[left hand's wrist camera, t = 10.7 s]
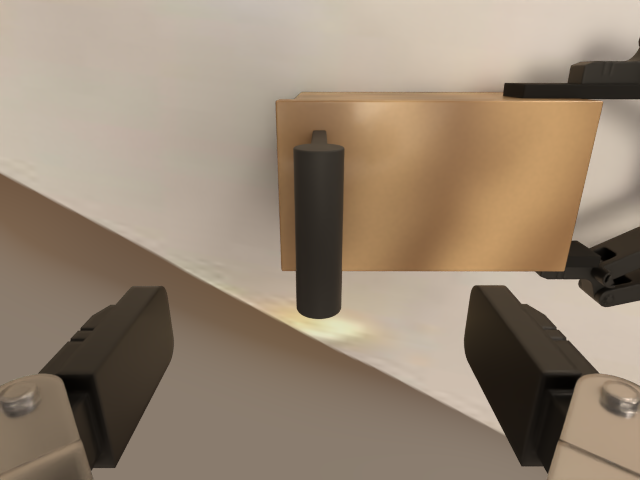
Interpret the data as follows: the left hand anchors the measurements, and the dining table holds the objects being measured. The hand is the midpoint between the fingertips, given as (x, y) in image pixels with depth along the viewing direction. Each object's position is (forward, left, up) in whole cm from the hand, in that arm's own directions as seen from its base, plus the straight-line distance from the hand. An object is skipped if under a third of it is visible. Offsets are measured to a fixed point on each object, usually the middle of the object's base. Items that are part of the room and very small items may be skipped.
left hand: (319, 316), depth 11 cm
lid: (+6, +1, -14) cm, 15 cm away
